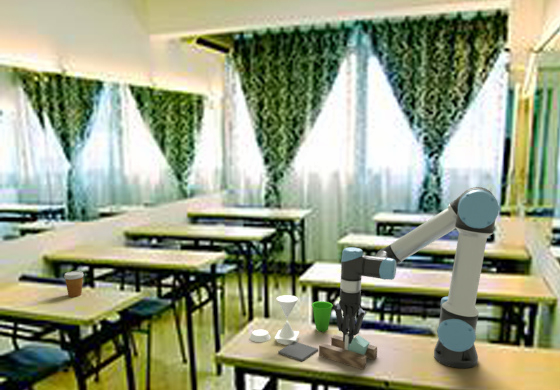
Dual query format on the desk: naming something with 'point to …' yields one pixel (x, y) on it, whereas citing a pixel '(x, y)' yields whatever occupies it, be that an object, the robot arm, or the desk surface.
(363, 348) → the teal block
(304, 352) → the rubber mat
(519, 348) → the desk surface
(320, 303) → the cup
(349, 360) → the parallel wooden bars
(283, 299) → the hourglass
